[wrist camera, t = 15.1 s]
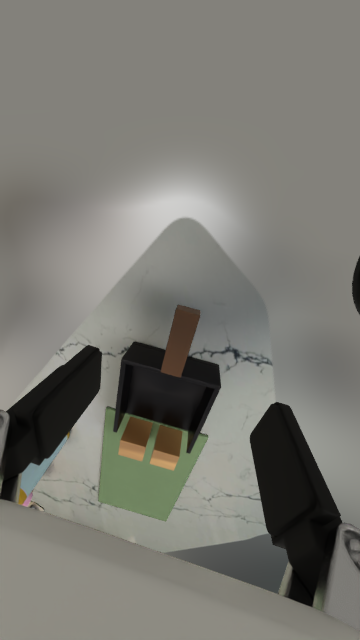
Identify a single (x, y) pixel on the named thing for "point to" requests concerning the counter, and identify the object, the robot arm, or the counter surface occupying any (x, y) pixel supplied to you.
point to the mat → (143, 472)
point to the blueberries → (35, 506)
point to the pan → (169, 381)
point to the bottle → (36, 474)
